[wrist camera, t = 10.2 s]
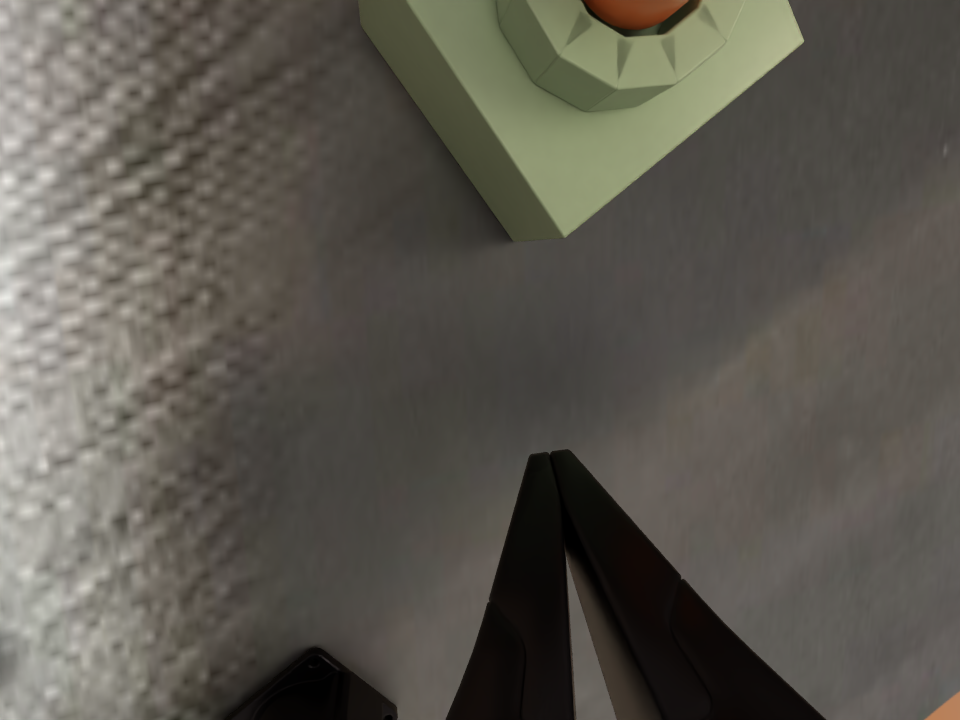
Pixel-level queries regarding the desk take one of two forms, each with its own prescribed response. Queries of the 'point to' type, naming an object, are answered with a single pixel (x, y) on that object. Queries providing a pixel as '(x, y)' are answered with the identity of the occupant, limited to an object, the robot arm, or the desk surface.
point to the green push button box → (570, 91)
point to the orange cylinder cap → (634, 12)
